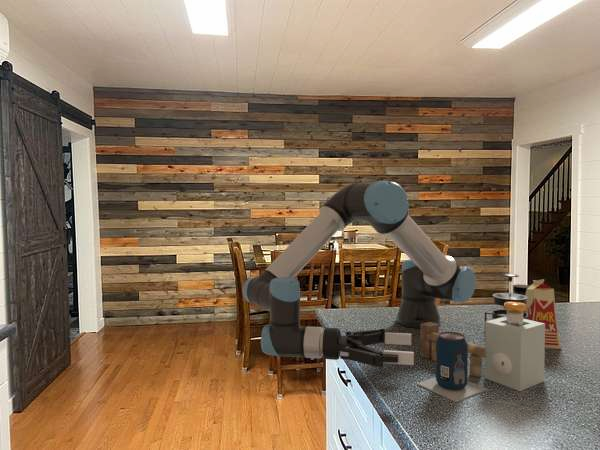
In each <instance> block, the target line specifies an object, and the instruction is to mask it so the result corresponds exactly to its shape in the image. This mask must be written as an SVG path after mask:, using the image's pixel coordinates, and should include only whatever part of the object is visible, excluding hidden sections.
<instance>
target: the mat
mask: <svg viewBox="0 0 600 450" xmlns="http://www.w3.org/2000/svg"><path fill="white" fill-rule="evenodd" d="M416 384H417V386H420V387H421V388H424V389H426V390H428V391H431V392H433V393H435V394H438V395H440V396H442V397H443V398H445V399H448V400H450V401H453V402H454V403H458V402H461V401H464V400H466V399H469V398H471V397H473V396H476V395H478V394H481V393H484V392H486V391H488V388H486V387H483V386H482V385H479V384H476V383H474V382H472V381H470V380H469V381H468V380H467V385H466V386H465V388H464V389H463V390H461V391H449V390H445V389H443V388H441V387H440V386H439V384H438V383H437V381H436V376H435V377H432V378H429V379H426V380H422V381H419V382H417V383H416Z"/></svg>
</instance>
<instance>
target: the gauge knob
mask: <svg viewBox="0 0 600 450" xmlns="http://www.w3.org/2000/svg"><path fill="white" fill-rule="evenodd" d="M503 310H507V314H506V316H507V324H510V325H514V326H518V327H520V326H523V311H526V304H524V303H520V302H505V303H504V306H503Z"/></svg>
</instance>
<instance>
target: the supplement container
mask: <svg viewBox="0 0 600 450" xmlns="http://www.w3.org/2000/svg"><path fill="white" fill-rule="evenodd" d="M530 286H531V285H528V284H519V283H518V284H513V285H512V293H514V294H521V295H526V290H527V288H529V287H530Z"/></svg>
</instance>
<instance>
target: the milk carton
mask: <svg viewBox="0 0 600 450" xmlns="http://www.w3.org/2000/svg"><path fill="white" fill-rule="evenodd" d="M532 282H533V283H532V284H530V285H529V286H530V287H529V288H527V290H526V295H525V296H527V297H528V300H526V301H525V303H524V304H526V311H523V312H524V313H526V314H528V320H532V321H536V322H540V323H545V349H557V350H558V349H560V350H562V349H563V348H562V344H561V338H560V333H559V327H558V319H557V311H556V301H555V288H553V287H551V286H549V285H548V284H545V283H544V282H545V279H543V278H542V279H539V280H533V279H532Z"/></svg>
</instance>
